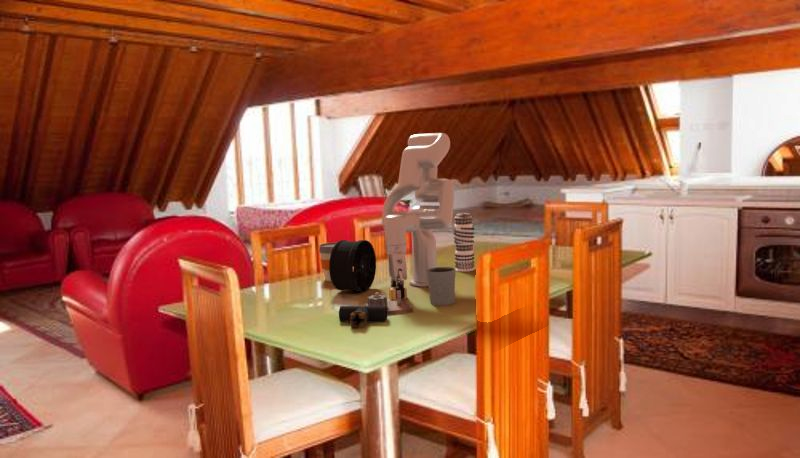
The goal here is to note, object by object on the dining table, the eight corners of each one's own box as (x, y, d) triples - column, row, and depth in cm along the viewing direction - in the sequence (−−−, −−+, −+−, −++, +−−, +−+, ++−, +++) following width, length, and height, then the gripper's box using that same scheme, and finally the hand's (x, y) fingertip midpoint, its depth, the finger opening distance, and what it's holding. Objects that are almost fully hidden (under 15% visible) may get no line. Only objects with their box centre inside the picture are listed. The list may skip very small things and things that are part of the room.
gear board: (403, 303, 228) (403, 286, 227) (413, 311, 216) (412, 294, 215) (365, 307, 225) (364, 289, 224) (372, 316, 212) (371, 298, 212)
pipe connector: (380, 312, 197) (333, 312, 200) (380, 329, 198) (333, 329, 200) (387, 304, 208) (342, 304, 211) (387, 320, 209) (343, 319, 212)
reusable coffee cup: (315, 281, 271) (313, 246, 269) (329, 275, 283) (327, 242, 281) (341, 282, 267) (339, 247, 265) (355, 276, 278) (353, 242, 276)
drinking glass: (437, 307, 220) (436, 273, 218) (422, 301, 229) (421, 268, 227) (462, 303, 225) (461, 269, 223) (447, 297, 234) (445, 265, 232)
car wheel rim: (354, 297, 241) (351, 244, 238) (330, 295, 245) (327, 244, 242) (377, 285, 259) (374, 236, 256) (355, 284, 263) (352, 236, 260)
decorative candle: (479, 268, 285) (477, 212, 281) (469, 272, 277) (468, 214, 274) (460, 266, 290) (458, 212, 286) (451, 270, 282) (449, 214, 278)
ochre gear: (404, 295, 240) (404, 285, 240) (408, 298, 234) (408, 289, 234) (387, 296, 239) (387, 287, 238) (391, 300, 232) (391, 291, 232)
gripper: (411, 251, 226) (413, 300, 229) (400, 244, 243) (402, 290, 246) (391, 253, 225) (393, 302, 227) (380, 246, 241) (383, 292, 244)
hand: (398, 296), depth 236 cm, fingers closed on ochre gear, 6 cm apart
